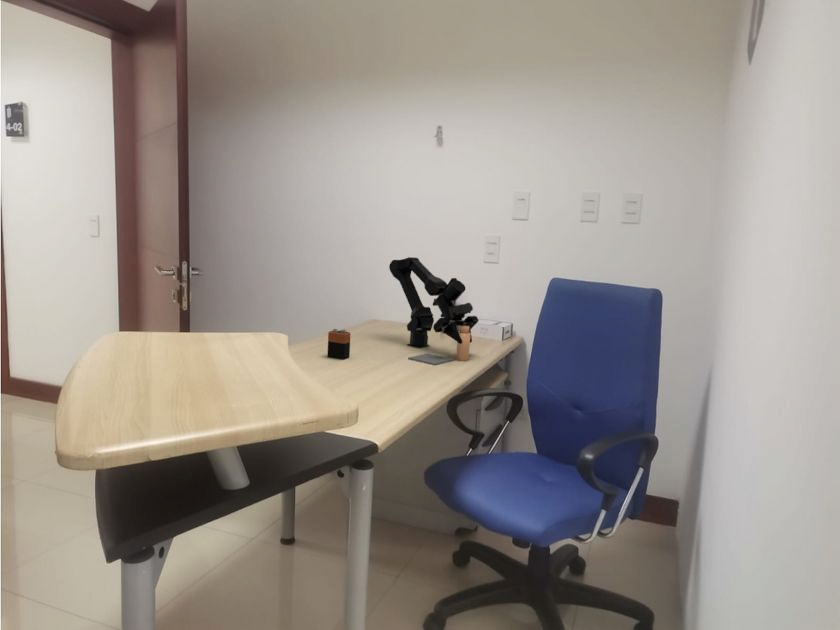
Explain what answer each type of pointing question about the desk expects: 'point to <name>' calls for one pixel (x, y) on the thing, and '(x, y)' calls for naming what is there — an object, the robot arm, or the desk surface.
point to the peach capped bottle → (463, 344)
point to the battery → (339, 344)
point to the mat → (431, 359)
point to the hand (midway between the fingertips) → (466, 342)
